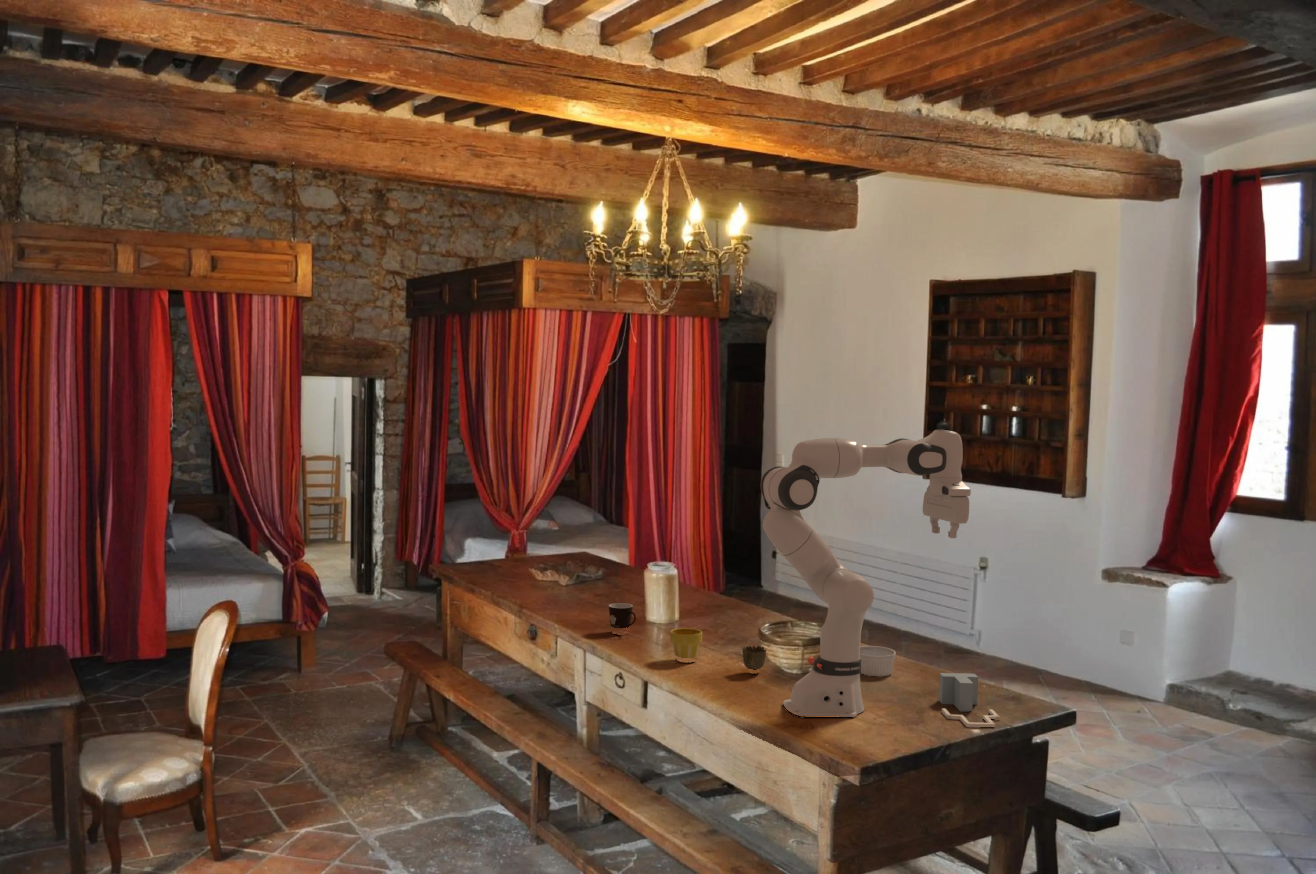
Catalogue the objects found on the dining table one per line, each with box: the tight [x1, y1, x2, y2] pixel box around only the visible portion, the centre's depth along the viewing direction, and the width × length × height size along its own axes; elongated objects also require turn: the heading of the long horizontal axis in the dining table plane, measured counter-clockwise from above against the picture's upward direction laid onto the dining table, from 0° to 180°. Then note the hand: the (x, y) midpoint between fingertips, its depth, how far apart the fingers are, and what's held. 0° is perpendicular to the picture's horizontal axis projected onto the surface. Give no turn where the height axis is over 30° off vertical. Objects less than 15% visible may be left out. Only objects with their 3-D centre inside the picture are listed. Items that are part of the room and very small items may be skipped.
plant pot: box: [669, 627, 703, 658], centre depth 347 cm, size 10×10×10 cm
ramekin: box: [860, 645, 897, 678], centre depth 338 cm, size 13×13×7 cm
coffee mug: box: [608, 602, 637, 628], centre depth 382 cm, size 12×9×10 cm
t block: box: [938, 672, 979, 712], centre depth 304 cm, size 10×10×8 cm
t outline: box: [941, 708, 1001, 728], centre depth 292 cm, size 14×13×1 cm
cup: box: [742, 645, 767, 670], centre depth 334 cm, size 8×7×8 cm
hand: (943, 535), depth 305 cm, fingers open, 8 cm apart
